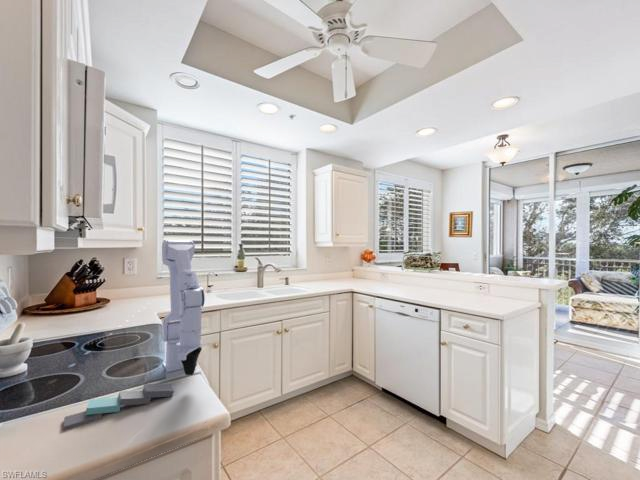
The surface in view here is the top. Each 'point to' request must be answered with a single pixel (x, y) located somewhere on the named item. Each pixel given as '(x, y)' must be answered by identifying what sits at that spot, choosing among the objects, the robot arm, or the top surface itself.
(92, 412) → the domino
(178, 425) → the top surface
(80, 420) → the domino
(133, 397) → the domino
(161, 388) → the domino
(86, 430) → the top surface
